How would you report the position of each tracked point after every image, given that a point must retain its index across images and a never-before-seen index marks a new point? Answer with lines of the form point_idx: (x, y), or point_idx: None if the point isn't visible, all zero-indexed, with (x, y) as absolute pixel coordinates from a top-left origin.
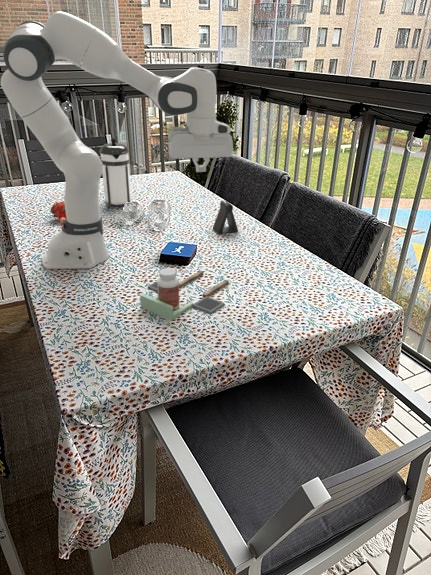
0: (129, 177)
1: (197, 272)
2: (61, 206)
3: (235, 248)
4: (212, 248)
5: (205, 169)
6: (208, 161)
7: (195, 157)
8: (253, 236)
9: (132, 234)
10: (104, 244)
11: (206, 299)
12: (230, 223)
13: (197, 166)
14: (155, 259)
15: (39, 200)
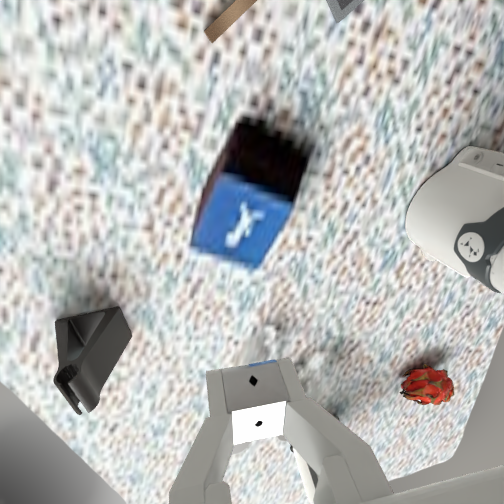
0: (310, 494)
1: (225, 30)
2: (443, 389)
3: (71, 214)
4: (147, 222)
5: (211, 385)
6: (183, 481)
7: (397, 500)
8: (4, 290)
9: (326, 311)
10: (439, 215)
11: None
12: (75, 344)
13: (304, 399)
14: (315, 173)
15: (425, 430)
